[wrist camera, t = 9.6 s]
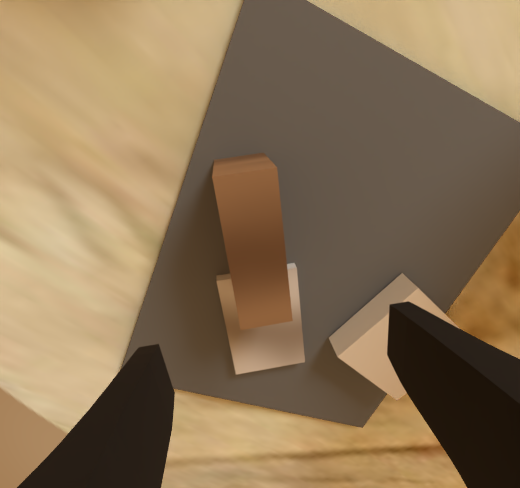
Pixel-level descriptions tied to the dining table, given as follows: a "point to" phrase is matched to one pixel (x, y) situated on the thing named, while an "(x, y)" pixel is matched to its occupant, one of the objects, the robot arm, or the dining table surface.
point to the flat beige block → (379, 334)
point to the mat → (329, 201)
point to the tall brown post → (256, 267)
